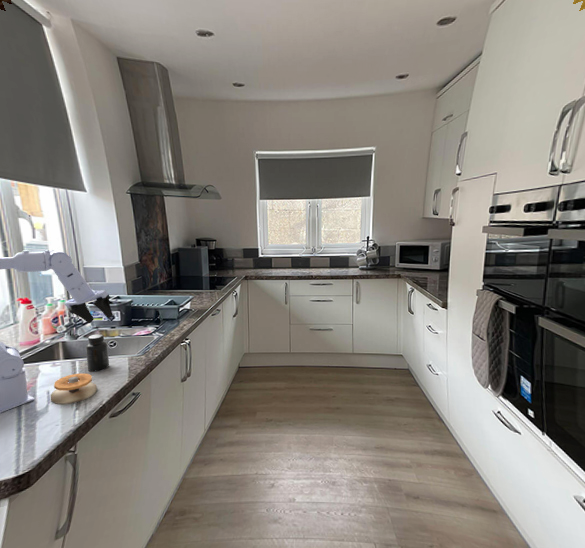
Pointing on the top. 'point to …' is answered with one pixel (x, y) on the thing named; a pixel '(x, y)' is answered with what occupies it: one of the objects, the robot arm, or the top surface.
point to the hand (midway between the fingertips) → (100, 318)
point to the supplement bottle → (97, 353)
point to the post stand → (73, 393)
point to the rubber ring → (64, 385)
